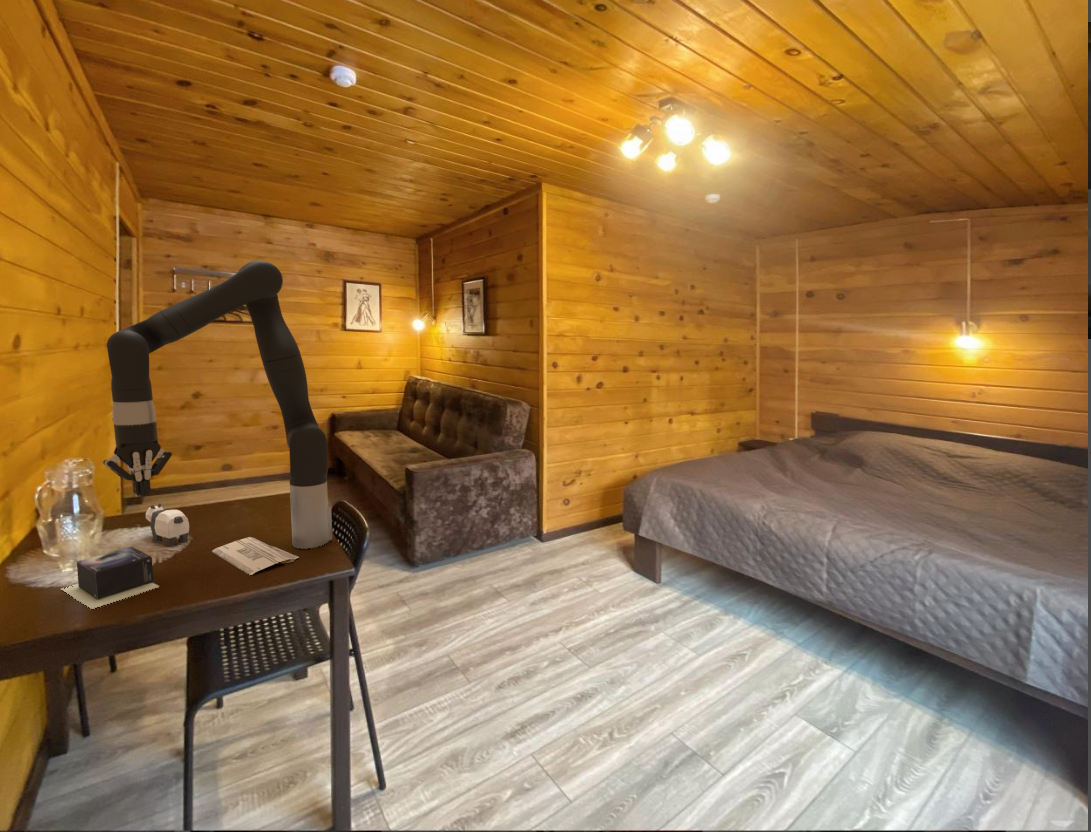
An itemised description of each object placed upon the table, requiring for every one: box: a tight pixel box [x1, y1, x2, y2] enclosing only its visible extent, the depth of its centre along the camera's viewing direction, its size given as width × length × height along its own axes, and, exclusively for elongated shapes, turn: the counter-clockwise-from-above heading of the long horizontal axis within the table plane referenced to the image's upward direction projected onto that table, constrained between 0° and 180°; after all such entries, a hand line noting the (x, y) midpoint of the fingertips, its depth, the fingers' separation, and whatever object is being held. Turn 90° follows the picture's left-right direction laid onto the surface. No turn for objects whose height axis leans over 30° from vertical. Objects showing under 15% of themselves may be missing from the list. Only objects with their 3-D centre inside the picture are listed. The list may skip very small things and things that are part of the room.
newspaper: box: [211, 536, 300, 576], centre depth 134 cm, size 23×12×2 cm, turn 53°
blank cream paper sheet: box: [60, 582, 160, 610], centre depth 115 cm, size 12×16×1 cm
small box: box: [76, 546, 155, 600], centre depth 116 cm, size 11×6×10 cm
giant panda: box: [145, 503, 190, 547], centre depth 143 cm, size 15×6×10 cm, turn 65°
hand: (142, 495), depth 119 cm, fingers closed
